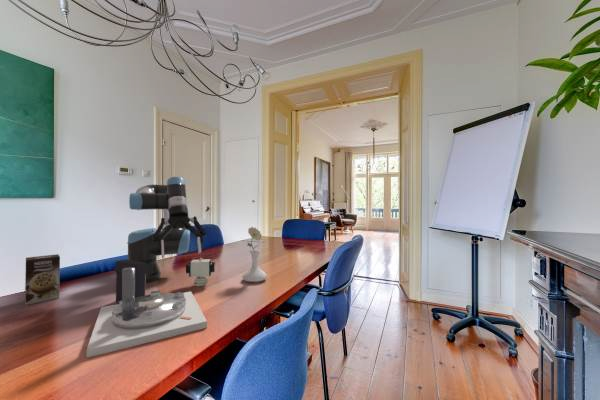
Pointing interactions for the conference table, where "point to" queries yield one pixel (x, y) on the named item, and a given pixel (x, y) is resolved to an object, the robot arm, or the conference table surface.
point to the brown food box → (42, 278)
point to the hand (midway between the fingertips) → (182, 254)
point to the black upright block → (139, 277)
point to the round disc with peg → (145, 305)
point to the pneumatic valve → (200, 270)
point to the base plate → (142, 329)
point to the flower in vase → (254, 260)
